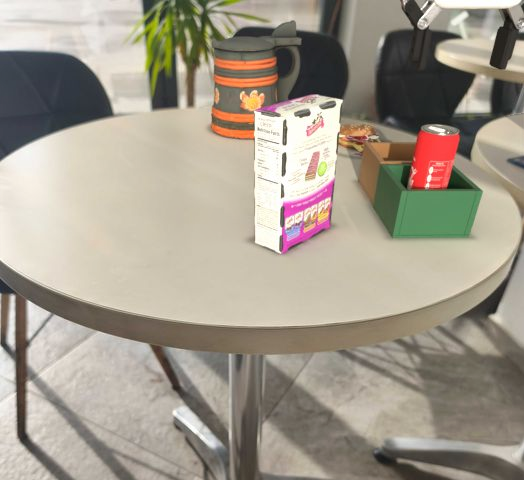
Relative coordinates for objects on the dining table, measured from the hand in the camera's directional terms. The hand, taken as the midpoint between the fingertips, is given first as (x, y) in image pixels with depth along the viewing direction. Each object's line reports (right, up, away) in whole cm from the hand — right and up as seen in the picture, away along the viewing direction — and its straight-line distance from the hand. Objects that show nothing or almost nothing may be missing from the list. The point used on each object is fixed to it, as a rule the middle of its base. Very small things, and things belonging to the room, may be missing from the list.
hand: (457, 68), depth 59 cm
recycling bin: (-1, -15, +12) cm, 20 cm away
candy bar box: (-19, -18, +8) cm, 28 cm away
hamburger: (-4, +6, +40) cm, 41 cm away
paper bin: (-2, -9, +21) cm, 22 cm away
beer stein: (-25, +15, +49) cm, 57 cm away
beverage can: (-1, -15, +12) cm, 19 cm away
